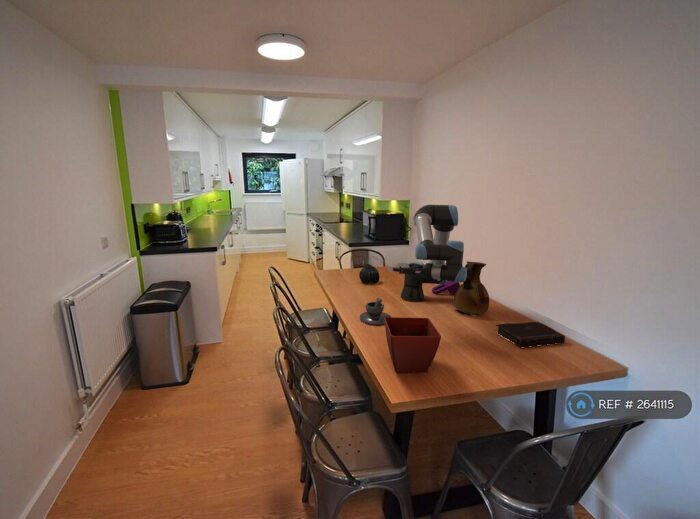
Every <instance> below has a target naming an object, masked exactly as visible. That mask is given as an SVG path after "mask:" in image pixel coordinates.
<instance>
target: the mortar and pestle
mask: <svg viewBox="0 0 700 519" xmlns="http://www.w3.org/2000/svg"><path fill="white" fill-rule="evenodd" d="M382 302H383V299H382V298H381V297H378V298H377V299H376V301H369V302H367V303H365V309H366V310H365V312H368V313H369V317H370V318H372V319H378V318H380V314H381V313H382V312H383V311H384V308H385V304H384V303H382Z"/></svg>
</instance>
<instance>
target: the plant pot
mask: <svg viewBox="0 0 700 519" xmlns="http://www.w3.org/2000/svg"><path fill="white" fill-rule="evenodd" d="M384 327H385V337H386V343H387V348H388V351H389V355H390V356H389V357H390V360H391V363H392V365H393V368H394V369H393V370H394V371H395V373H417V372H419V373H420V372H422V373H423V372H426V373H427V372H428V371H429V369H430V367H431V365H432V364H433V362H434V359H435V357H436V355H437V352H438V349H439V346H440V343H441V339H442V335H441V334H440V332H439V331H438V329H437V328H436V326H435V325H434V324H433V322H432V321H431V319H430V318H428V317H399V316H398V317H392V316H391V317H385V325H384ZM419 373H418V374H419ZM422 373H421V374H422ZM423 374H424V373H423Z"/></svg>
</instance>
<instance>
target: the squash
mask: <svg viewBox="0 0 700 519" xmlns="http://www.w3.org/2000/svg"><path fill="white" fill-rule="evenodd" d="M380 277H381V276H380V272H379V270H378V268H376V267H375V266H373V265H372V264H370V263H366V264H365V265H364V266H363V267H362V268H361V269H360V270H359V276H358V278H359V280H360V282H361V283H363V284H365V285H369V284H374V285H375V284H377V283H379V281H380Z"/></svg>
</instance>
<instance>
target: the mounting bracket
mask: <svg viewBox="0 0 700 519" xmlns="http://www.w3.org/2000/svg"><path fill="white" fill-rule="evenodd" d="M460 286H461V284H460V282H451V281H446V283H444V284H436V285H435V286H434V287H432V289H431V293H432V294H433V295H439V294H442V293H444V292H449V294H450V295H452V296H454V295H455V293H456V291H457V290H458V288H459V287H460Z"/></svg>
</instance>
